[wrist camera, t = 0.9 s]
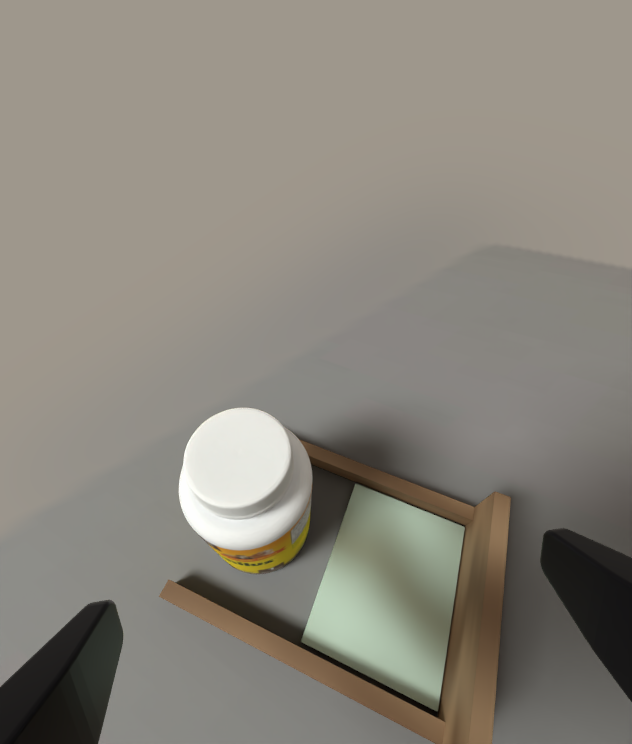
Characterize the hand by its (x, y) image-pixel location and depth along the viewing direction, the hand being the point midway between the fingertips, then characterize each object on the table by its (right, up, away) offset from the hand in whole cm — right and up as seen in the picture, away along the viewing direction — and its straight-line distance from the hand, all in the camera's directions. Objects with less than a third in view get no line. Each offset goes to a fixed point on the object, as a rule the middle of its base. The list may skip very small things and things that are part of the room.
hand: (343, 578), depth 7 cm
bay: (0, -6, +13) cm, 14 cm away
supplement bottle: (-4, -5, +14) cm, 15 cm away
